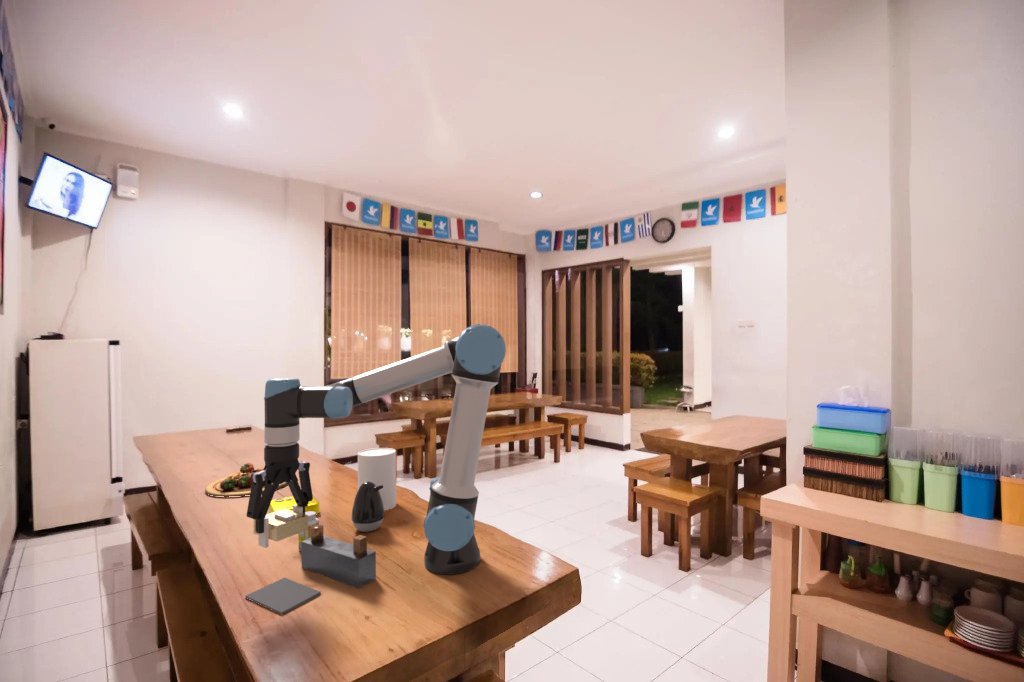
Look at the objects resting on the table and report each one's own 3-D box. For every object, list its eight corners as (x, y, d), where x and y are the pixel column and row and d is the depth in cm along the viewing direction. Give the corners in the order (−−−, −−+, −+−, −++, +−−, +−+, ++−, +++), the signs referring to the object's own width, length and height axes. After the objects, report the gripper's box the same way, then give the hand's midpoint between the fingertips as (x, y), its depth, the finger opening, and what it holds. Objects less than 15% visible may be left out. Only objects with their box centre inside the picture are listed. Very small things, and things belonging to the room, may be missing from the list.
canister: (398, 509, 171) (398, 453, 171) (359, 514, 166) (358, 457, 166) (393, 498, 183) (393, 446, 183) (356, 502, 178) (356, 449, 178)
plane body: (375, 579, 120) (375, 535, 120) (358, 588, 115) (358, 543, 115) (319, 559, 131) (319, 519, 131) (301, 567, 126) (301, 526, 126)
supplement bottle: (321, 544, 141) (321, 509, 141) (315, 552, 136) (315, 516, 136) (302, 545, 141) (302, 510, 141) (295, 553, 135) (295, 517, 135)
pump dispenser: (375, 536, 147) (375, 487, 147) (345, 534, 149) (344, 485, 149) (390, 524, 157) (390, 478, 157) (361, 522, 159) (361, 476, 159)
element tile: (273, 524, 158) (273, 510, 158) (267, 512, 170) (267, 498, 171) (320, 515, 167) (320, 501, 167) (311, 503, 179) (311, 491, 179)
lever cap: (308, 529, 113) (308, 511, 113) (276, 541, 106) (276, 522, 106) (284, 522, 118) (285, 505, 118) (253, 533, 111) (253, 515, 111)
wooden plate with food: (218, 480, 212) (217, 461, 212) (295, 472, 222) (295, 455, 221) (193, 504, 181) (193, 483, 181) (284, 494, 191) (284, 474, 191)
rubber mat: (320, 594, 113) (320, 591, 113) (281, 615, 104) (281, 612, 104) (284, 579, 120) (284, 577, 120) (245, 598, 111) (245, 595, 111)
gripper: (310, 434, 123) (309, 522, 123) (228, 449, 105) (227, 552, 105) (329, 437, 119) (328, 528, 119) (247, 453, 101) (246, 560, 101)
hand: (281, 539), depth 112 cm, fingers closed on lever cap, 8 cm apart
